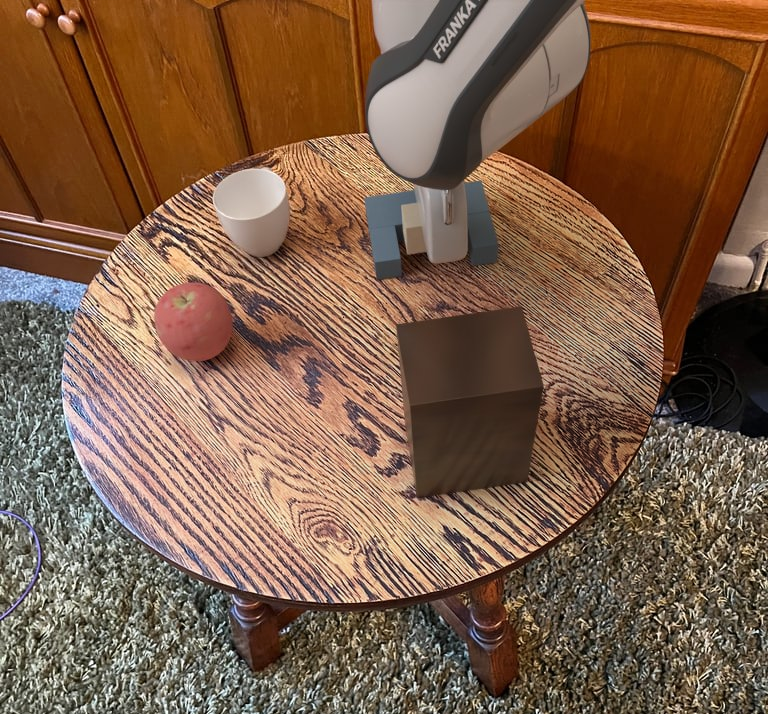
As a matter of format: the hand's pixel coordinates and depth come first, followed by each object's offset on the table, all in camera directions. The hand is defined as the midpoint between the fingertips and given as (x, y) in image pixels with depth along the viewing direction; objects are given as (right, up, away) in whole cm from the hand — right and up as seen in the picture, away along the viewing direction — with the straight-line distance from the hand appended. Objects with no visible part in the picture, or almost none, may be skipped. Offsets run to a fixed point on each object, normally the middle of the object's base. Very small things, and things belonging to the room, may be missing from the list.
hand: (433, 231), depth 80 cm
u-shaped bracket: (0, +1, +4) cm, 4 cm away
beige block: (0, 0, +1) cm, 1 cm away
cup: (-18, +2, +6) cm, 19 cm away
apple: (-24, -12, -1) cm, 27 cm away
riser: (+2, -24, -9) cm, 26 cm away
